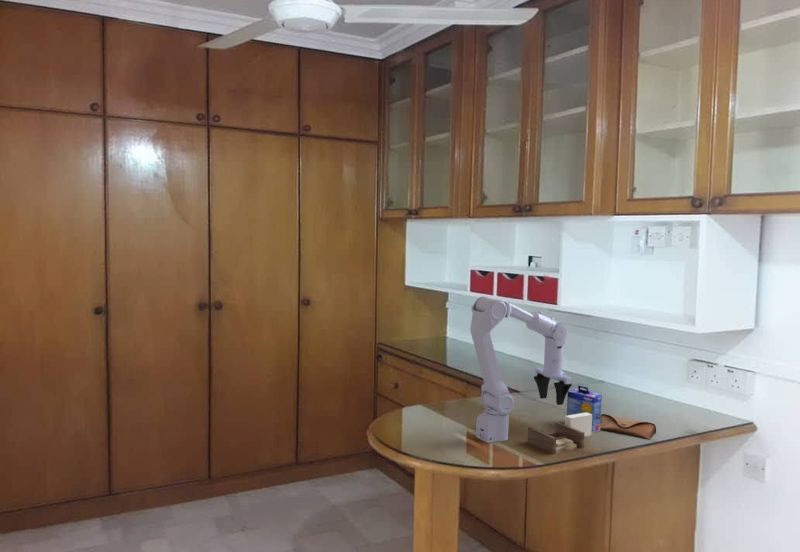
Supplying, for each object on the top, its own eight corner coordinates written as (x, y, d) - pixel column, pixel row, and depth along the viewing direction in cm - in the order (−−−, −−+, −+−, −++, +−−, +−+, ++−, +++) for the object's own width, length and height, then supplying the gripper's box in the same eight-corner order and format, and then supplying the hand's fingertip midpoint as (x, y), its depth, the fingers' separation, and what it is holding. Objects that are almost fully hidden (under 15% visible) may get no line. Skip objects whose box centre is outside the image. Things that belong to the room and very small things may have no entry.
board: (569, 440, 194) (570, 418, 194) (563, 438, 197) (565, 415, 196) (591, 436, 199) (592, 414, 198) (585, 434, 201) (586, 412, 200)
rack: (552, 457, 182) (553, 438, 181) (527, 445, 191) (528, 427, 191) (583, 450, 187) (584, 432, 187) (557, 439, 197) (558, 422, 196)
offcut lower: (555, 451, 183) (556, 448, 183) (547, 447, 186) (547, 444, 186) (576, 447, 187) (576, 444, 187) (567, 443, 190) (567, 440, 190)
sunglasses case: (593, 429, 208) (597, 409, 210) (597, 434, 213) (600, 415, 216) (652, 440, 199) (655, 419, 201) (654, 445, 204) (657, 425, 206)
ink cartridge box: (564, 427, 209) (566, 383, 208) (573, 423, 213) (575, 381, 212) (592, 434, 203) (595, 389, 201) (600, 430, 207) (603, 387, 205)
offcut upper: (557, 447, 184) (557, 444, 184) (550, 444, 187) (550, 440, 186) (573, 444, 187) (573, 441, 187) (565, 441, 190) (566, 437, 189)
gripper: (579, 362, 196) (577, 405, 197) (547, 353, 209) (545, 394, 210) (562, 364, 193) (560, 408, 194) (530, 355, 206) (528, 396, 207)
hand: (551, 401), depth 202 cm, fingers open, 7 cm apart
